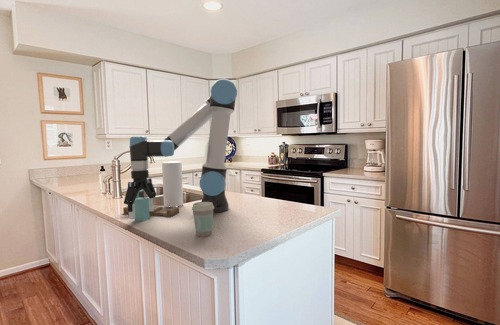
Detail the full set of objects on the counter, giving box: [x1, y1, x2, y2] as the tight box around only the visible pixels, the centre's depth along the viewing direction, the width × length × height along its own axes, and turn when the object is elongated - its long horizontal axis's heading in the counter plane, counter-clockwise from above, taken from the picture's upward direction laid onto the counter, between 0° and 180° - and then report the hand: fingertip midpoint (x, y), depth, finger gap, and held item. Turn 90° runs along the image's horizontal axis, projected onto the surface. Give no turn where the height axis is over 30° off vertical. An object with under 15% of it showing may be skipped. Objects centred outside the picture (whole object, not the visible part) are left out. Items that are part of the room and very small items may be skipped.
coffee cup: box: [191, 201, 214, 238], centre depth 107 cm, size 9×9×12 cm
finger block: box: [134, 197, 150, 222], centre depth 130 cm, size 6×4×10 cm
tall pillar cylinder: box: [161, 160, 184, 208], centre depth 157 cm, size 11×11×25 cm
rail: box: [122, 189, 180, 217], centre depth 141 cm, size 28×7×12 cm, turn 74°
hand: (142, 214), depth 130 cm, fingers open, 13 cm apart
